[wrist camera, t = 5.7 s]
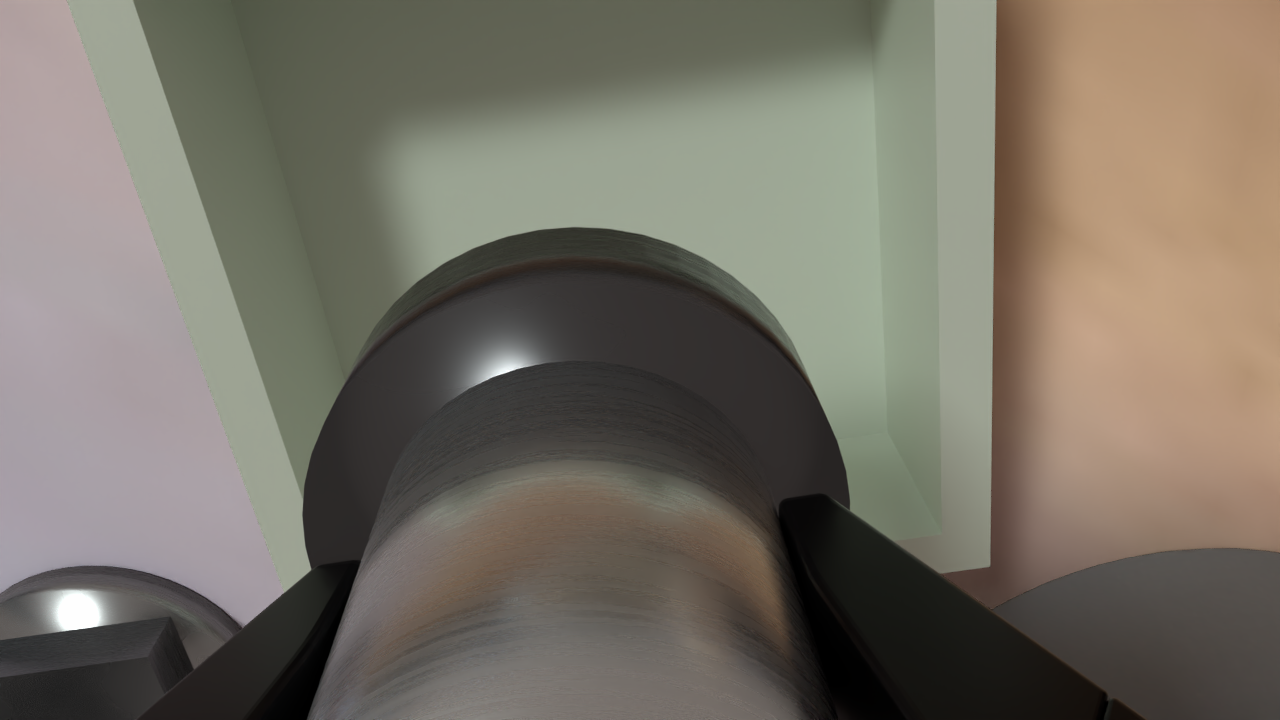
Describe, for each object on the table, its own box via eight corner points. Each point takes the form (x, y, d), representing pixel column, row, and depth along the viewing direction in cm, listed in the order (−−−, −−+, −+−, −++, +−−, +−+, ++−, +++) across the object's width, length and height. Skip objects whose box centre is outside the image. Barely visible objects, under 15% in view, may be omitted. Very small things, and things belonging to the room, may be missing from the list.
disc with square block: (304, 768, 24) (279, 842, 22) (37, 805, 24) (-9, 881, 22) (216, 546, 21) (180, 609, 19) (-85, 588, 21) (-149, 654, 19)
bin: (920, 446, 20) (989, 566, 17) (359, 525, 21) (309, 661, 17) (904, -200, 15) (998, -226, 12) (166, -84, 16) (40, -74, 12)
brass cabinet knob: (802, 192, 10) (1254, 850, 3) (830, 610, 12) (1130, 1526, 5) (280, 267, 10) (-378, 1064, 3) (402, 668, 12) (166, 1643, 5)
